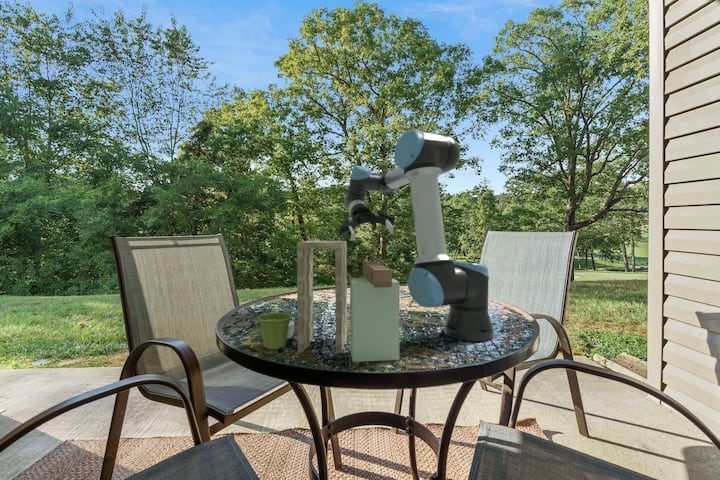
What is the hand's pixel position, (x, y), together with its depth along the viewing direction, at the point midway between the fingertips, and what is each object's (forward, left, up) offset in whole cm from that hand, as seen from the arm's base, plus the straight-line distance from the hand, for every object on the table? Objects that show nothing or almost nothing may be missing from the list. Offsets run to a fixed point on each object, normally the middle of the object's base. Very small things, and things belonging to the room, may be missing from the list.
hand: (373, 233), depth 122 cm
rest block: (-8, +27, -32) cm, 43 cm away
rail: (-9, +27, -12) cm, 31 cm away
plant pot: (+21, +29, -32) cm, 48 cm away
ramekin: (+25, +20, -32) cm, 45 cm away
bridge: (+8, +23, -32) cm, 40 cm away
